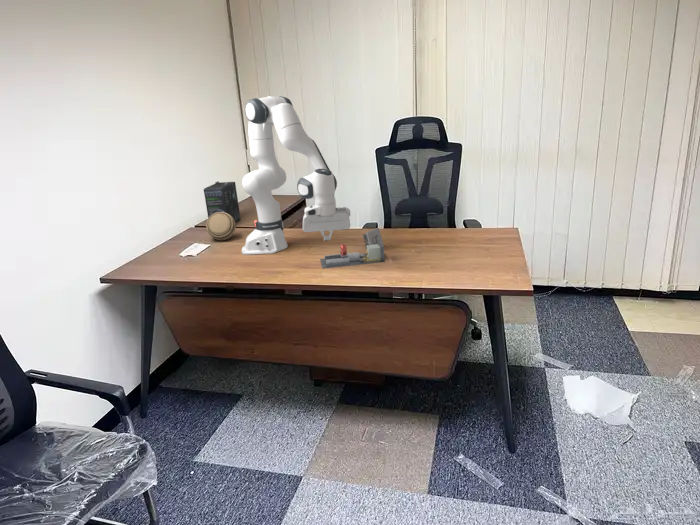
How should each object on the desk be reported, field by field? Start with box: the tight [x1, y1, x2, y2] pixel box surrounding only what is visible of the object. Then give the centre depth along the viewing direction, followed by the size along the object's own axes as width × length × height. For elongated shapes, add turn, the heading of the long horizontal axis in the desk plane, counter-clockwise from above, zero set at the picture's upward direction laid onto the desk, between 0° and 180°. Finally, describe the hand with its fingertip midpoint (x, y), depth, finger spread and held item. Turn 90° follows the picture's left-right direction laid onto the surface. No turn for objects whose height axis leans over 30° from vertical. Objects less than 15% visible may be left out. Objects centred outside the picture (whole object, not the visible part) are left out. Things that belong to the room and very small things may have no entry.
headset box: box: [203, 181, 241, 224], centre depth 285 cm, size 22×12×26 cm, turn 174°
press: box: [319, 241, 386, 270], centre depth 209 cm, size 27×13×7 cm, turn 98°
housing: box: [364, 244, 381, 260], centre depth 210 cm, size 6×5×5 cm
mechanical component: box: [205, 212, 237, 241], centre depth 256 cm, size 15×15×15 cm
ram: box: [339, 243, 366, 261], centre depth 208 cm, size 11×3×7 cm, turn 98°
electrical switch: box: [362, 227, 384, 249], centre depth 225 cm, size 9×5×9 cm, turn 141°
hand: (327, 240), depth 206 cm, fingers closed
